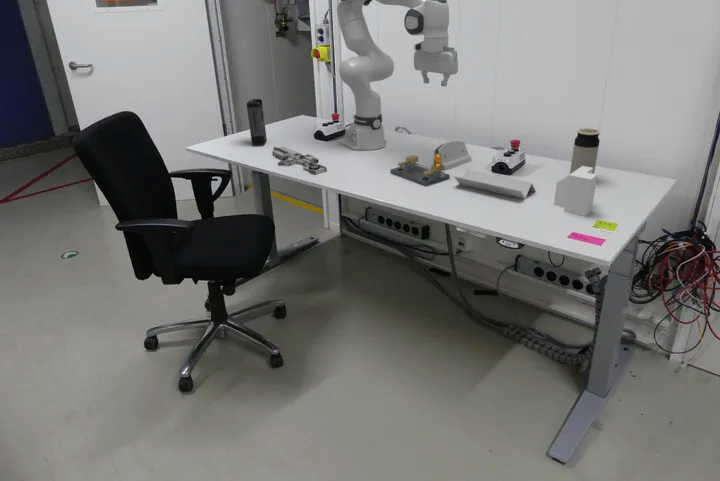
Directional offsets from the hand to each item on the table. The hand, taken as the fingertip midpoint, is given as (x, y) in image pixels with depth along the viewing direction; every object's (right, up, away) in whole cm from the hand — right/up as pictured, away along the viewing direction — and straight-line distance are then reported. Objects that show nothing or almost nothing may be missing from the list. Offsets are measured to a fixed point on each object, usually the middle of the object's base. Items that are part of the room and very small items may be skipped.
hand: (435, 84), depth 197 cm
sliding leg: (-1, -35, -4) cm, 35 cm away
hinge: (+9, -28, +13) cm, 32 cm away
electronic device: (-76, -13, +51) cm, 92 cm away
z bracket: (+19, -41, -14) cm, 47 cm away
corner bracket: (+40, -48, -30) cm, 69 cm away
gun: (-56, -26, +24) cm, 67 cm away
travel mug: (+51, -37, -9) cm, 64 cm away
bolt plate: (-6, -34, +1) cm, 35 cm away
